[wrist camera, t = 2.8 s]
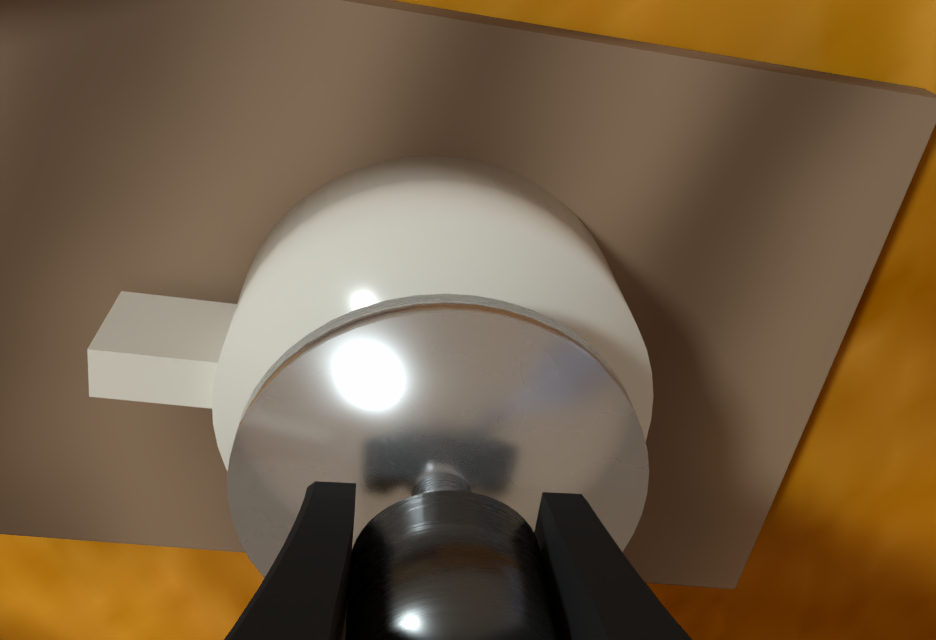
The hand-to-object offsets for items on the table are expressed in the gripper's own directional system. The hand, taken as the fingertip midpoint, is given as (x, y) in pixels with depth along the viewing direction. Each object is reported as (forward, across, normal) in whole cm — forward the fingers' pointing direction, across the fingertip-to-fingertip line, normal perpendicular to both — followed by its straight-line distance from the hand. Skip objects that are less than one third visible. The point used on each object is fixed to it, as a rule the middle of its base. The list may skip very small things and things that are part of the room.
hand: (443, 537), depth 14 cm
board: (+7, +1, 0) cm, 7 cm away
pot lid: (+2, 0, 0) cm, 2 cm away
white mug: (+6, +1, 0) cm, 6 cm away
